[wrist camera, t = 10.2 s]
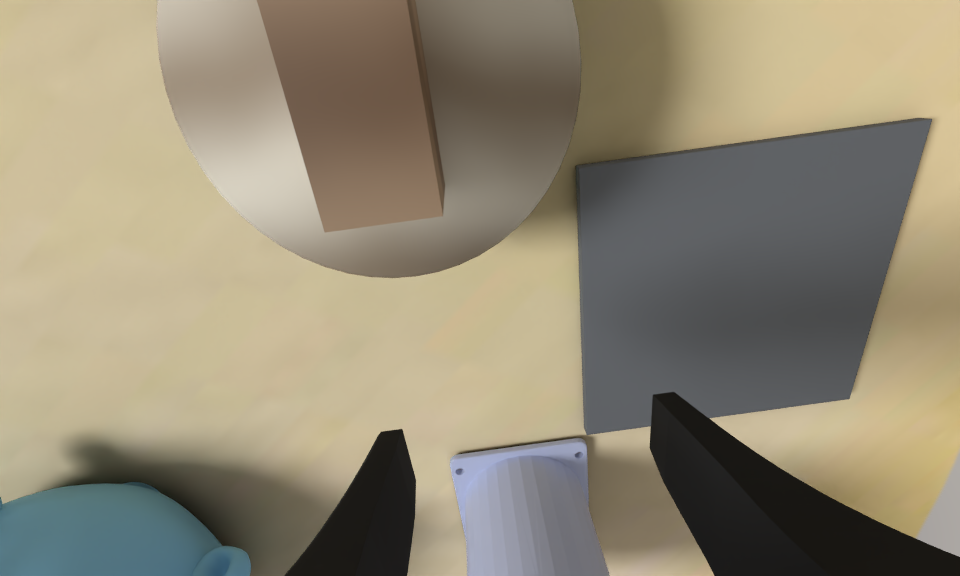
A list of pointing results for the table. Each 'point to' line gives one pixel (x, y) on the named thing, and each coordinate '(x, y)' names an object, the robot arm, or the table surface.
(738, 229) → the mat
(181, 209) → the table surface
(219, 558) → the decorative pot
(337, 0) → the lid
